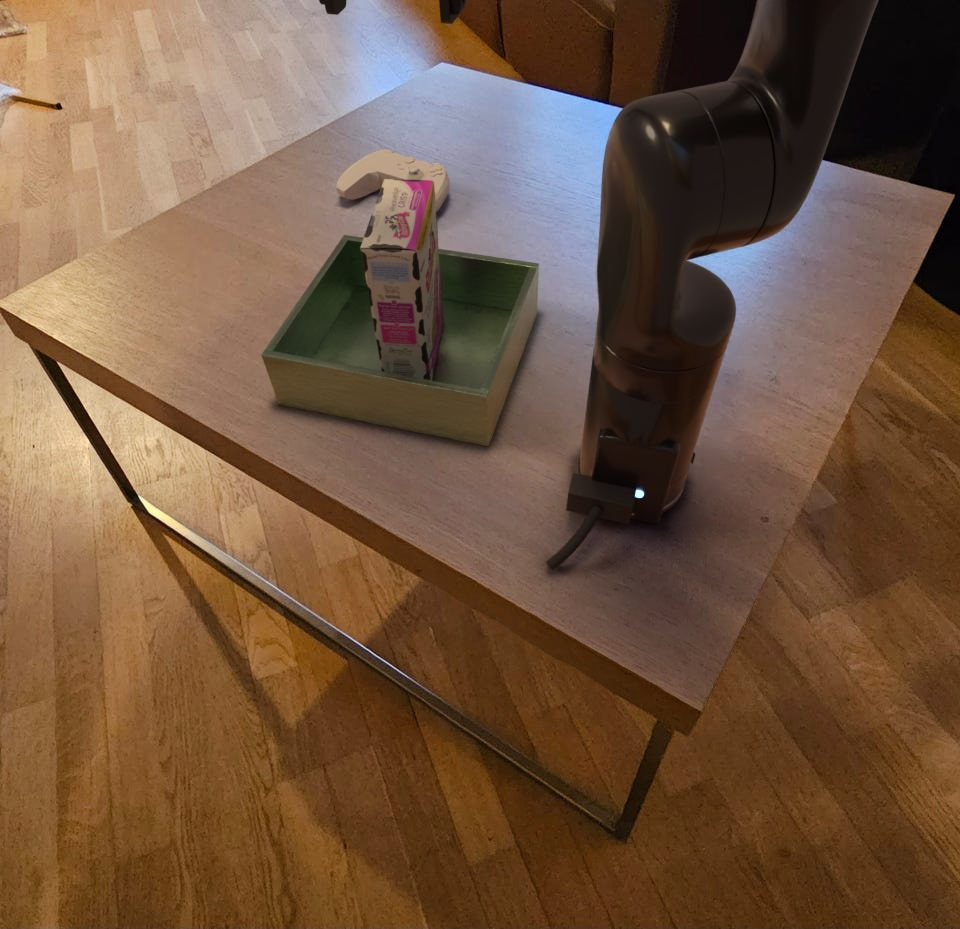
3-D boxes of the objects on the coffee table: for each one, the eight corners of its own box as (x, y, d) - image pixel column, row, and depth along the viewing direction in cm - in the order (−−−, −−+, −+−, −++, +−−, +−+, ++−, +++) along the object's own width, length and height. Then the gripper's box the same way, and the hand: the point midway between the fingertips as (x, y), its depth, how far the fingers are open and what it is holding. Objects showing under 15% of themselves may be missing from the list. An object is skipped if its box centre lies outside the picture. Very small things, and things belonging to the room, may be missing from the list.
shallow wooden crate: (488, 446, 67) (486, 397, 62) (278, 404, 71) (260, 354, 66) (537, 314, 79) (539, 263, 74) (354, 284, 83) (343, 234, 78)
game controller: (324, 182, 91) (367, 132, 95) (335, 209, 95) (376, 160, 99) (419, 211, 86) (461, 157, 90) (427, 239, 90) (466, 186, 94)
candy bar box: (433, 393, 71) (417, 250, 58) (383, 391, 71) (356, 248, 58) (447, 319, 78) (435, 176, 65) (401, 317, 78) (380, 175, 65)
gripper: (201, -313, 38) (278, 28, 50) (463, -319, 35) (475, 44, 47) (266, -326, 42) (322, -10, 55) (502, -332, 39) (503, 3, 52)
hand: (393, 15), depth 51 cm, fingers open, 8 cm apart
